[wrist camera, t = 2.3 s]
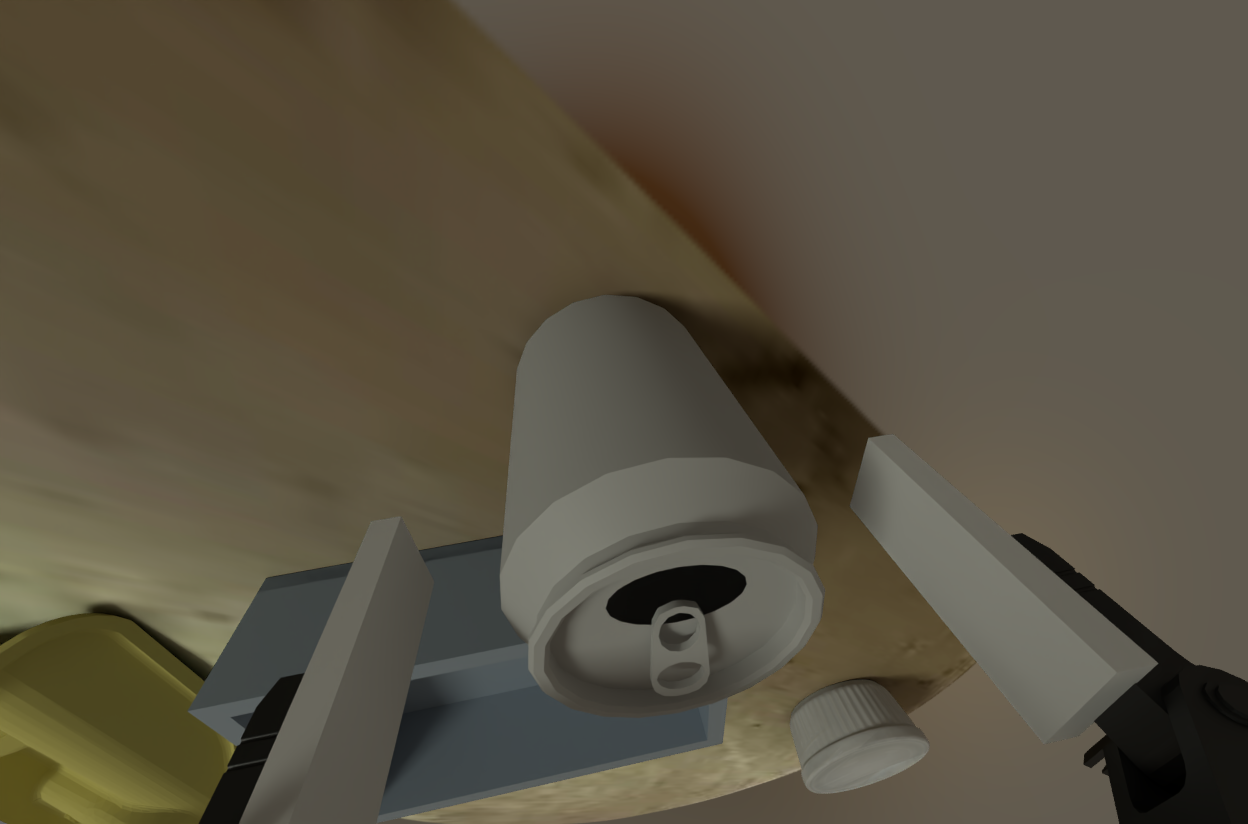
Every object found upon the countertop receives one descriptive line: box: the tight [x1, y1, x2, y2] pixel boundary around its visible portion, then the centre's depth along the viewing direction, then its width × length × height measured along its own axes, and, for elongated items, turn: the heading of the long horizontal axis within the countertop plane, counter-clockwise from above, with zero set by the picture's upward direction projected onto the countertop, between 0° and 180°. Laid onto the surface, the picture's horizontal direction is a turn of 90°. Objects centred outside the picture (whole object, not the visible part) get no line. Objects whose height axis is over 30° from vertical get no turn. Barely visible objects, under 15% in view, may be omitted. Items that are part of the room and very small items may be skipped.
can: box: [500, 295, 825, 718], centre depth 14 cm, size 8×8×12 cm
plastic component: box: [0, 613, 237, 824], centre depth 25 cm, size 20×7×10 cm
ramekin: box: [790, 679, 929, 793], centre depth 40 cm, size 11×11×5 cm
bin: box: [188, 536, 727, 823], centre depth 25 cm, size 15×22×6 cm
